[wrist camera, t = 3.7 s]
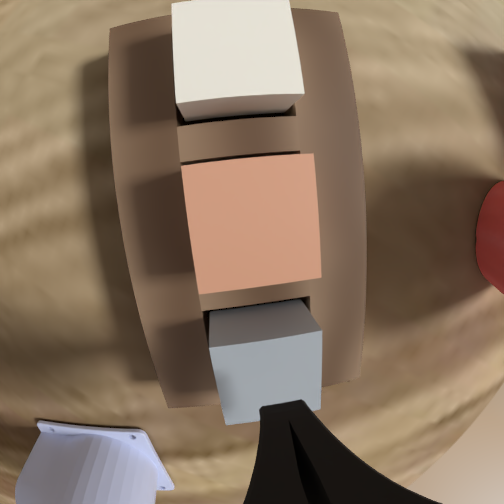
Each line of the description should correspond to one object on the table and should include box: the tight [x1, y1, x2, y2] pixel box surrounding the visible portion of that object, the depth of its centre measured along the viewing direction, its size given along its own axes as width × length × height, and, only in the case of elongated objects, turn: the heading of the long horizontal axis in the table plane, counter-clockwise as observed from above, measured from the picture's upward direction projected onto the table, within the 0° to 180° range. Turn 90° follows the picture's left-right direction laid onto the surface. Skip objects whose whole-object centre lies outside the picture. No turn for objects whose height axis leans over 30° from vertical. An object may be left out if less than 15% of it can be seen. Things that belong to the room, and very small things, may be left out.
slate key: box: [209, 299, 322, 425], centre depth 12 cm, size 4×4×3 cm
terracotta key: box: [181, 153, 321, 294], centre depth 11 cm, size 4×4×3 cm
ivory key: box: [172, 0, 305, 121], centre depth 9 cm, size 4×4×3 cm
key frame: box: [108, 8, 367, 408], centre depth 13 cm, size 10×18×2 cm, turn 6°
